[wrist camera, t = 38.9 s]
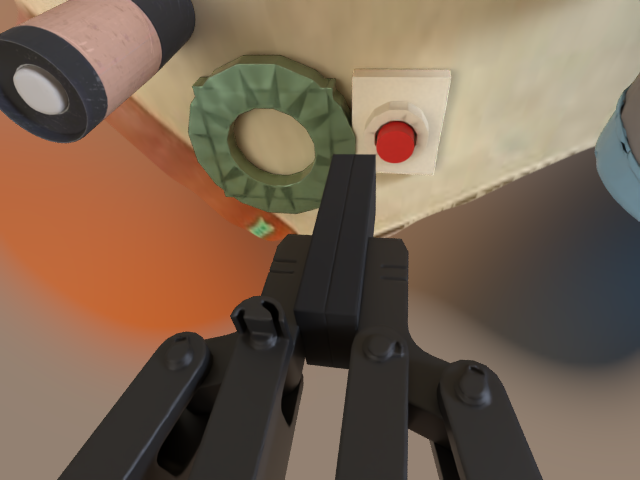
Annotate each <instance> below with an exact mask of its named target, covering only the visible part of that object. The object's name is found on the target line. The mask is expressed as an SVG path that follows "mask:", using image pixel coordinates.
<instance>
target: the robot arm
mask: <svg viewBox="0 0 640 480" xmlns="http://www.w3.org/2000/svg"><path fill="white" fill-rule="evenodd" d="M595 156H596V160H597V161H596V162H597V165H596V167H597V171H598V173H599V176H600V178H601V180H602V182H603V184H604V185H605V187H606V188H607V190H608V191H609V193H610V194H611V195H612V196H613V198H614V199H615V200H616V201H617V202H618V203H619V204H620V205H621V206H622V207H623V208H624V209H625V210H626V211H627V212H628V213H629V214H631V215H632V216H633V217H634V218H635V219H637V220H638V221H639V222H640V73H639V75H638V76H637V78H636V79H635V80H634V82H633V83H632V84H631V85H630V86H629V87H628V88H627V89H626V90H624V92H623V93H622V94H621V96H620V98H619V100H618V103H617V106H616V110H615V112H614V113H613V115H612V116H611V118H610V120H609V121H608V123H607V124H606V126H605V128H604V129H603V131H602V132H601V134H600V136H599V138H598V140H597V143H596V147H595ZM375 212H376V154H333V156H332V160H331V164H330V168H329V172H328V176H327V180H326V184H325V187H324V191H323V195H322V199H321V203H320V207H319V211H318V215H317V219H316V222H315V226H314V230H313V234H312V235H295V234H288V235H287V236H286V237H285V238H284V239H283V240H282V242H281V243H280V244H279V245H278V246H277V249H276V253H275V256H274V258H273V262H272V264H271V267H270V272H269V273H268V276H267V279H266V282H265V285H264V288H263V291H262V294H261V296H253V297H251V298H249V299H246V300H244V301H243V302H241V303H240V304H239V305H238V306H237V307H236V308H235V309H234V310H233V312H232V314H231V315H230V317H231V319H232V321H233V323H234V325H235V327H236V330H237V331H236V332H235V333H231V334H229V335H224V336H220V337H215V338H210V339H205V340H204V339H203V337H201V336H200V335H198V334H197V333H193V332H182V333H178V334H175V335H174V336H172V337H170V338H168V339H167V340H166V341H164V342H163V343H162V344H161V345H160V347H159V348H158V349H157V350H156V352H155V353H154V354H153V355H152V357H151V358H150V360H149V361H148V362H147V363H146V365H145V366H144V367H143V369H142V370H141V371H140V372H139V374H138V375H137V376H136V378H135V379H134V380H133V382H132V383H131V384H130V385H129V387H128V388H127V389H126V391H125V392H124V393H123V395H122V396H121V397H120V399H119V400H118V401H117V402H116V404H115V405H114V406H113V408H112V409H111V410H110V412H109V413H108V414H107V415H106V417H105V418H104V419H103V421H102V422H101V423H100V425H99V426H98V427H97V429H96V430H95V431H94V433H93V434H92V435H91V436H90V438H89V439H88V440H87V442H86V443H85V444H84V445H83V447H82V448H81V449H80V451H79V452H78V453H77V455H76V456H75V457H74V459H73V460H72V461H71V462H70V464H69V465H68V466H67V468H66V469H65V470H64V472H63V473H62V474H61V476H60V477H59V478H58V479H57V480H285V475H286V470H287V465H288V460H289V455H290V450H291V445H292V440H293V435H294V430H295V425H296V420H297V415H298V410H299V405H300V400H301V395H302V390H303V374H302V370H303V365H304V360H305V358H306V362H307V364H308V365H318V366H326V367H334V368H343V369H349V372H348V380H347V389H346V397H345V405H344V413H343V420H342V429H341V436H340V445H339V453H338V461H337V469H336V477H335V480H407V461H408V460H407V459H408V429H410V430H412V431H414V432H416V433H418V434H420V435H422V436H424V437H426V438H427V439H429V440H430V444H431V448H432V452H433V456H434V460H435V464H436V468H437V472H438V476H439V479H440V480H543V479H542V476H541V474H540V472H539V469H538V467H537V464H536V462H535V460H534V457H533V455H532V452H531V450H530V448H529V445H528V443H527V441H526V438H525V436H524V434H523V431H522V429H521V426H520V424H519V422H518V419H517V417H516V414H515V412H514V410H513V407H512V405H511V402H510V400H509V398H508V395H507V393H506V391H505V388H504V386H503V385H502V383H501V381H500V379H499V378H498V376H497V375H496V374H495V373H494V372H493V371H492V370H490V369H489V368H488V367H487V366H486V365H483V364H481V363H478V362H476V361H471V360H459V361H456V362H453V363H448V362H446V361H444V360H441V359H439V358H436V357H434V356H432V355H430V354H428V353H426V352H424V351H423V350H422V349H421V348H419V347H418V346H417V345H416V343H415V342H414V341H413V339H412V338H411V336H410V333H409V330H408V250H407V249H406V246H405V245H404V243H403V241H402V239H395V238H374V237H373V233H374V223H375Z"/></svg>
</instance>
